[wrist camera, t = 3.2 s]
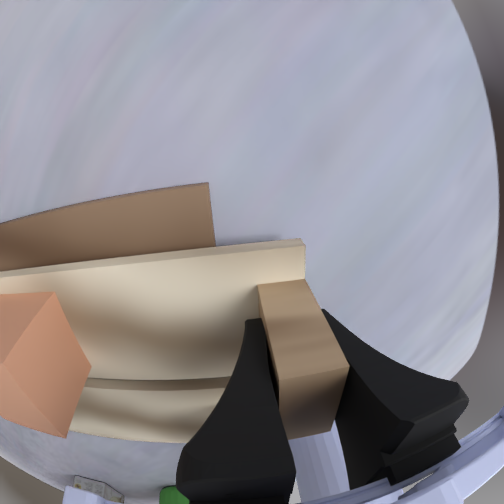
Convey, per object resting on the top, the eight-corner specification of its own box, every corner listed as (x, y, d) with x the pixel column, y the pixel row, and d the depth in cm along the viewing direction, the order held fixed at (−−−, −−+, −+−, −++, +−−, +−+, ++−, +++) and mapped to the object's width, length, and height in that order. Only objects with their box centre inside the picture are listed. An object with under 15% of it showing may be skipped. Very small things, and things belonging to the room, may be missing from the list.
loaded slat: (297, 356, 14) (325, 446, 9) (14, 359, 13) (-17, 415, 8) (300, 238, 12) (358, 325, 6) (-29, 275, 10) (-79, 326, 5)
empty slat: (258, 430, 18) (268, 496, 12) (43, 417, 16) (27, 464, 11) (252, 374, 15) (265, 464, 9) (2, 365, 13) (-26, 415, 8)
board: (244, 425, 19) (245, 431, 18) (29, 408, 17) (27, 412, 17) (208, 182, 11) (207, 184, 11) (-62, 244, 10) (-66, 247, 9)
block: (91, 366, 13) (66, 438, 8) (32, 360, 12) (3, 418, 8) (54, 291, 10) (2, 363, 6) (-4, 294, 10) (-50, 349, 6)
